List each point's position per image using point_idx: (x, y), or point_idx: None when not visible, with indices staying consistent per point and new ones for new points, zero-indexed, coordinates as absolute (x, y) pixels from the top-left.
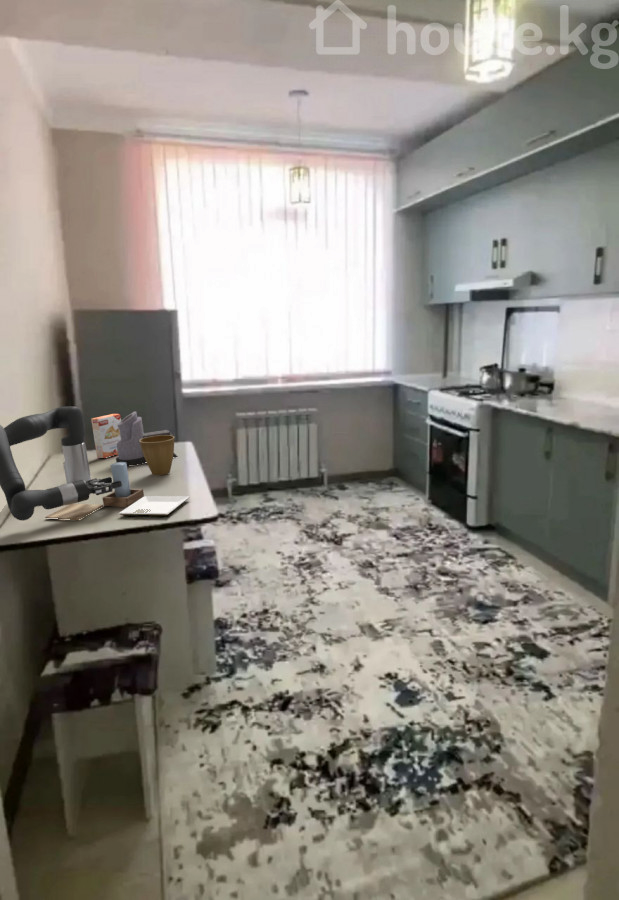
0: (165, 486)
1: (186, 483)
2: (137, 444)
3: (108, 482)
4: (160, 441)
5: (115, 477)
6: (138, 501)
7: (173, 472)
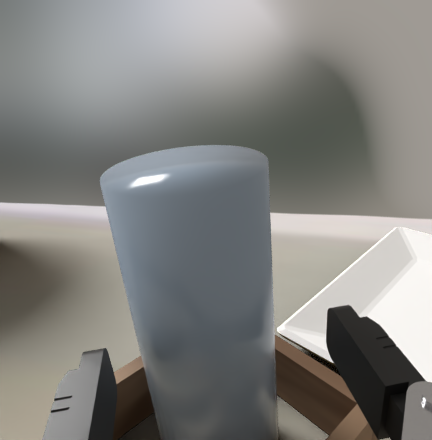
0: None
1: None
2: None
3: (111, 416)
4: None
5: (246, 308)
6: None
7: (3, 234)
